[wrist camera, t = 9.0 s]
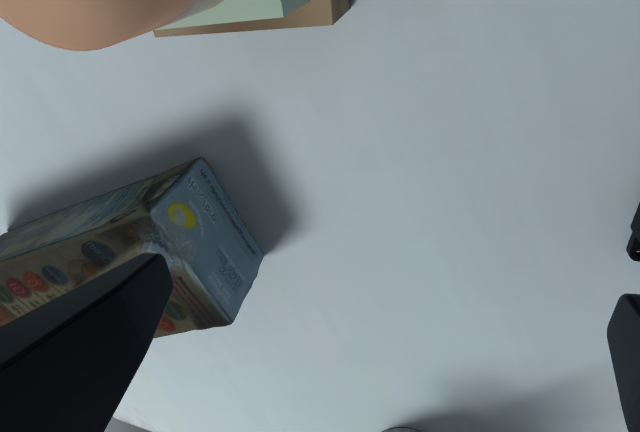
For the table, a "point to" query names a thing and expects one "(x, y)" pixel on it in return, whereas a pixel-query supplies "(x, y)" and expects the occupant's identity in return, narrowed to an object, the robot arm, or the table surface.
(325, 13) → the base block
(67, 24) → the pink domed cylinder
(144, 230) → the beverage carton
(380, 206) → the table surface
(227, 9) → the top block
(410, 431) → the house plant
